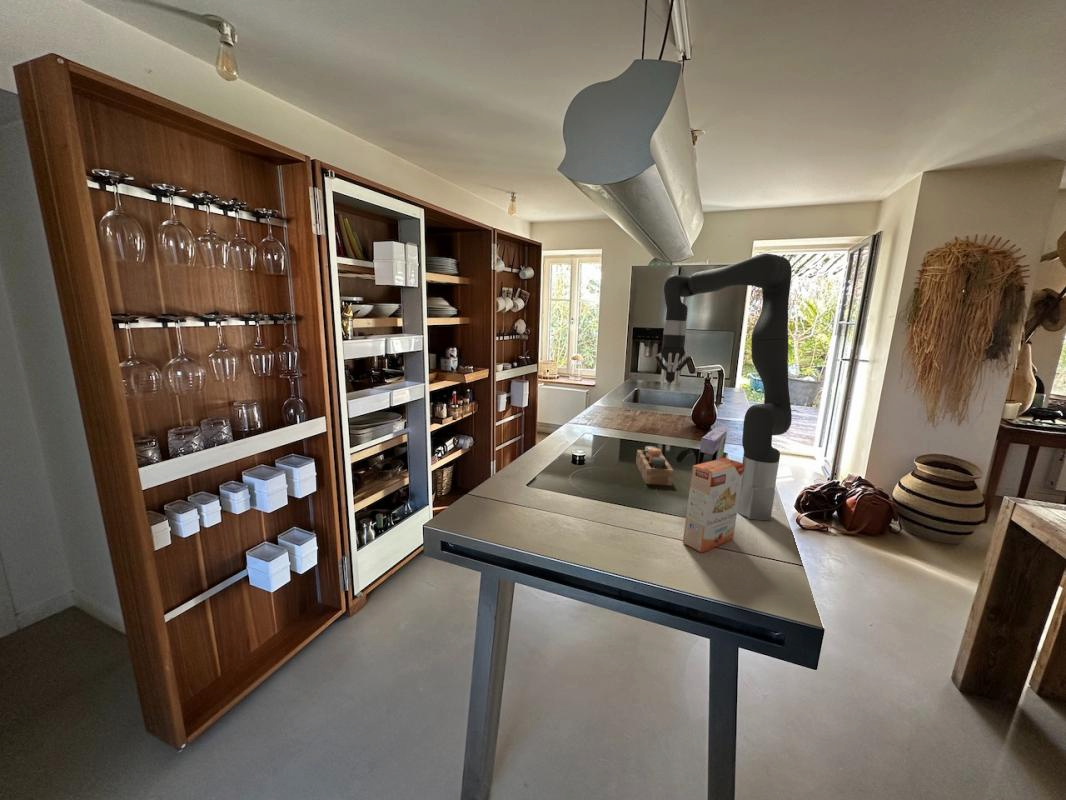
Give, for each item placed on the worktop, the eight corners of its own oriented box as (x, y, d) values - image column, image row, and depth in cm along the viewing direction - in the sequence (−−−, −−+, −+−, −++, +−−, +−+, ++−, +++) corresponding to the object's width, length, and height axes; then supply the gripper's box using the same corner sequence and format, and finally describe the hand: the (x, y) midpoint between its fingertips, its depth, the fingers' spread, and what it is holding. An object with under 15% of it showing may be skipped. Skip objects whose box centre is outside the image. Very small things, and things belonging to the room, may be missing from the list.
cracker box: (702, 554, 100) (713, 472, 97) (681, 543, 105) (690, 464, 101) (735, 540, 108) (746, 463, 104) (714, 530, 113) (723, 456, 109)
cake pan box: (707, 490, 142) (714, 439, 138) (692, 486, 144) (698, 436, 141) (721, 475, 157) (727, 429, 154) (707, 472, 160) (713, 427, 156)
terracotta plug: (660, 471, 152) (662, 451, 151) (648, 470, 153) (649, 451, 151) (658, 467, 157) (660, 448, 156) (645, 466, 157) (647, 447, 156)
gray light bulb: (664, 482, 146) (666, 461, 144) (651, 481, 146) (653, 460, 145) (661, 477, 150) (663, 457, 149) (648, 476, 151) (650, 456, 149)
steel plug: (656, 468, 159) (658, 450, 158) (644, 467, 160) (646, 449, 158) (654, 464, 164) (656, 446, 163) (642, 463, 164) (644, 445, 163)
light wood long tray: (672, 485, 144) (673, 470, 143) (645, 483, 145) (646, 468, 144) (659, 464, 166) (660, 451, 165) (636, 463, 166) (637, 449, 165)
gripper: (657, 333, 145) (653, 382, 148) (696, 334, 144) (691, 384, 147) (653, 332, 153) (649, 379, 156) (690, 334, 151) (685, 381, 155)
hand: (669, 382), depth 151 cm, fingers closed
